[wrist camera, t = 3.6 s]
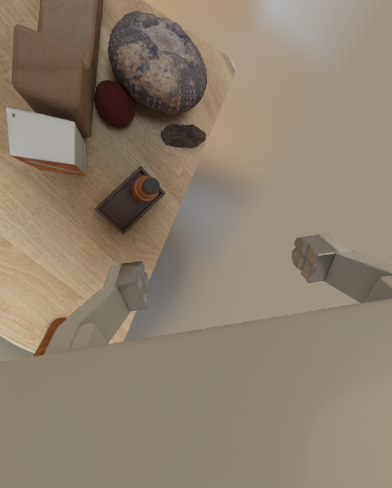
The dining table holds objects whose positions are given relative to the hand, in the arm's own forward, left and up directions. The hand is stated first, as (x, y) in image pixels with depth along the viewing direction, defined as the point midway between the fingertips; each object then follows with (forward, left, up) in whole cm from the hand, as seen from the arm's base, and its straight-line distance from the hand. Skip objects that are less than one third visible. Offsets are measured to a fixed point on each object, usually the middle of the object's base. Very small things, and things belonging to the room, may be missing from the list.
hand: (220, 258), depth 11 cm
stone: (+2, +24, -40) cm, 46 cm away
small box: (-18, +6, -41) cm, 45 cm away
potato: (-12, +19, -41) cm, 46 cm away
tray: (-3, +3, -41) cm, 41 cm away
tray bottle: (-2, +6, -40) cm, 40 cm away
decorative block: (-18, +10, -33) cm, 39 cm away
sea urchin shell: (-6, +26, -38) cm, 47 cm away
